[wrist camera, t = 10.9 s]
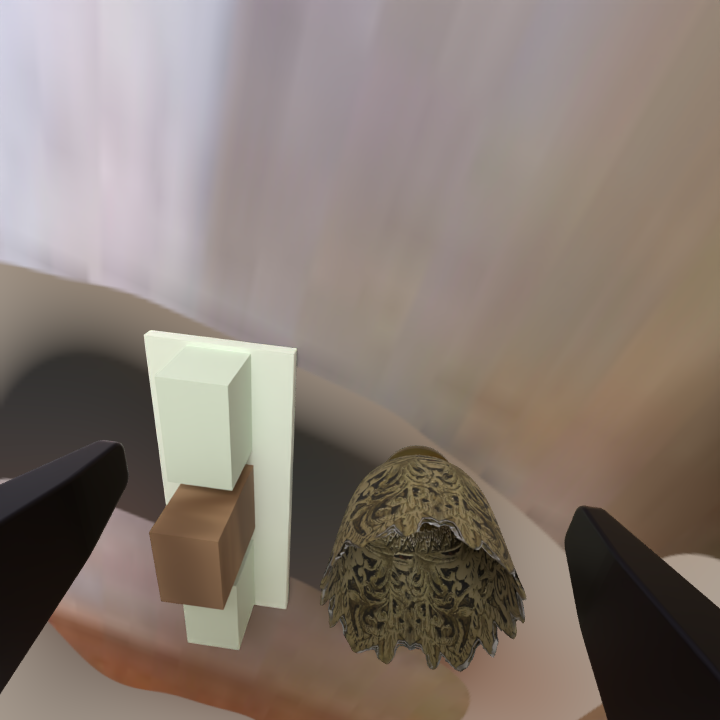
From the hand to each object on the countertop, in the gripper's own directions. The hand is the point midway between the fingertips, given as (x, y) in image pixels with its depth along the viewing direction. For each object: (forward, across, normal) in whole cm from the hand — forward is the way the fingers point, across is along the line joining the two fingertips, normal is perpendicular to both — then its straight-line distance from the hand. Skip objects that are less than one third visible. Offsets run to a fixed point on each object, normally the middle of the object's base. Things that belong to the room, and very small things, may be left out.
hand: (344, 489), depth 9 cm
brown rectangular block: (+11, +7, +12) cm, 18 cm away
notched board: (+12, +7, +12) cm, 18 cm away
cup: (+12, -3, +9) cm, 15 cm away
